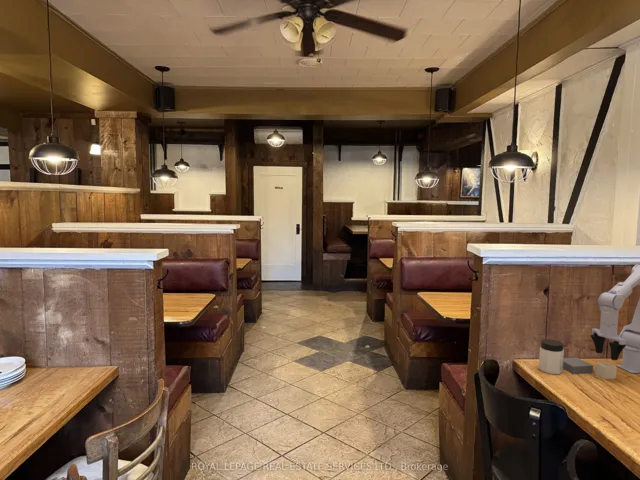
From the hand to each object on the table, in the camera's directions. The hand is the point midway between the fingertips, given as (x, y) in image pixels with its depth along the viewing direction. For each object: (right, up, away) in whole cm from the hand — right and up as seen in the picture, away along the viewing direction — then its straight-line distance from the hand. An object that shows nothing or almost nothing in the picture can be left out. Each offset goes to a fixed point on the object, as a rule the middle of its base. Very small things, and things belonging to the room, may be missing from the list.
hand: (606, 356), depth 167 cm
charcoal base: (-8, -8, +8) cm, 14 cm away
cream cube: (0, -8, +1) cm, 8 cm away
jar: (-19, -8, +7) cm, 21 cm away
